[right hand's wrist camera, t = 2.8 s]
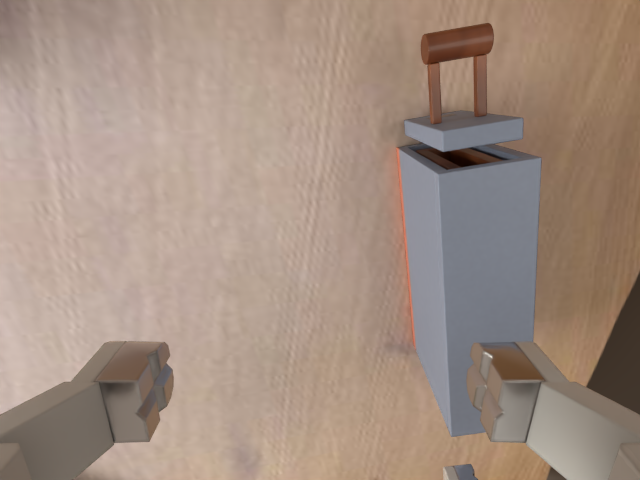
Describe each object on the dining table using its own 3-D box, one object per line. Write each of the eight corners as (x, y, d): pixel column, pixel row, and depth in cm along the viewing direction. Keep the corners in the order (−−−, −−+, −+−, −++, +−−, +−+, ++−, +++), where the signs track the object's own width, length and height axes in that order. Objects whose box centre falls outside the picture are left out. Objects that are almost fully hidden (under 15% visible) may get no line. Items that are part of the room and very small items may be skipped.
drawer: (398, 45, 29) (436, 25, 20) (459, 35, 29) (527, 8, 20) (419, 321, 37) (453, 393, 29) (467, 314, 37) (516, 384, 28)
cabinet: (396, 147, 32) (437, 174, 22) (466, 135, 32) (542, 157, 22) (413, 345, 39) (451, 437, 29) (470, 336, 39) (529, 426, 29)
